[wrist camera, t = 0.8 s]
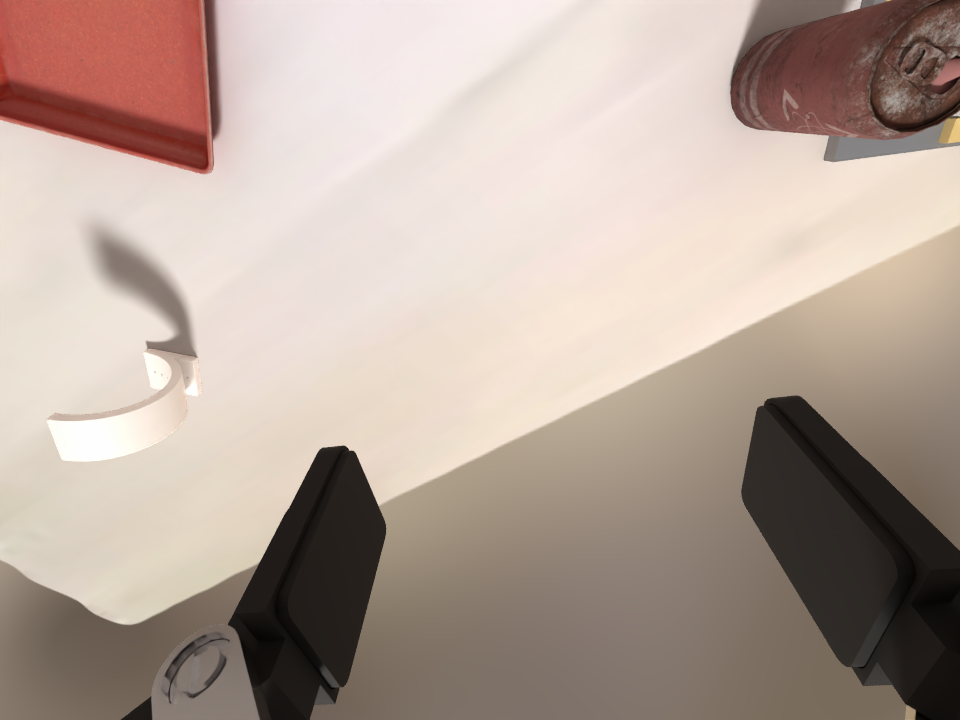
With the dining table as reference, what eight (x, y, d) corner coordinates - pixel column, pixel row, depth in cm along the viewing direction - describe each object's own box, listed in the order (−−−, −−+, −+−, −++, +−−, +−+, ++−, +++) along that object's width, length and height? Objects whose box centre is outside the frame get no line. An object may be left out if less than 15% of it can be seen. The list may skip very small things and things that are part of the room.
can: (819, 108, 33) (1008, 109, 21) (730, 141, 34) (859, 160, 22) (820, 13, 30) (1040, -51, 18) (723, 52, 31) (867, 18, 19)
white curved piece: (148, 347, 45) (45, 418, 35) (207, 359, 46) (123, 432, 36) (156, 383, 48) (61, 460, 37) (212, 393, 48) (133, 472, 38)
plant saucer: (234, 172, 37) (212, 178, 34) (6, 111, 35) (-38, 111, 32) (225, -122, 28) (193, -148, 25) (-82, -224, 26) (-153, -265, 23)
